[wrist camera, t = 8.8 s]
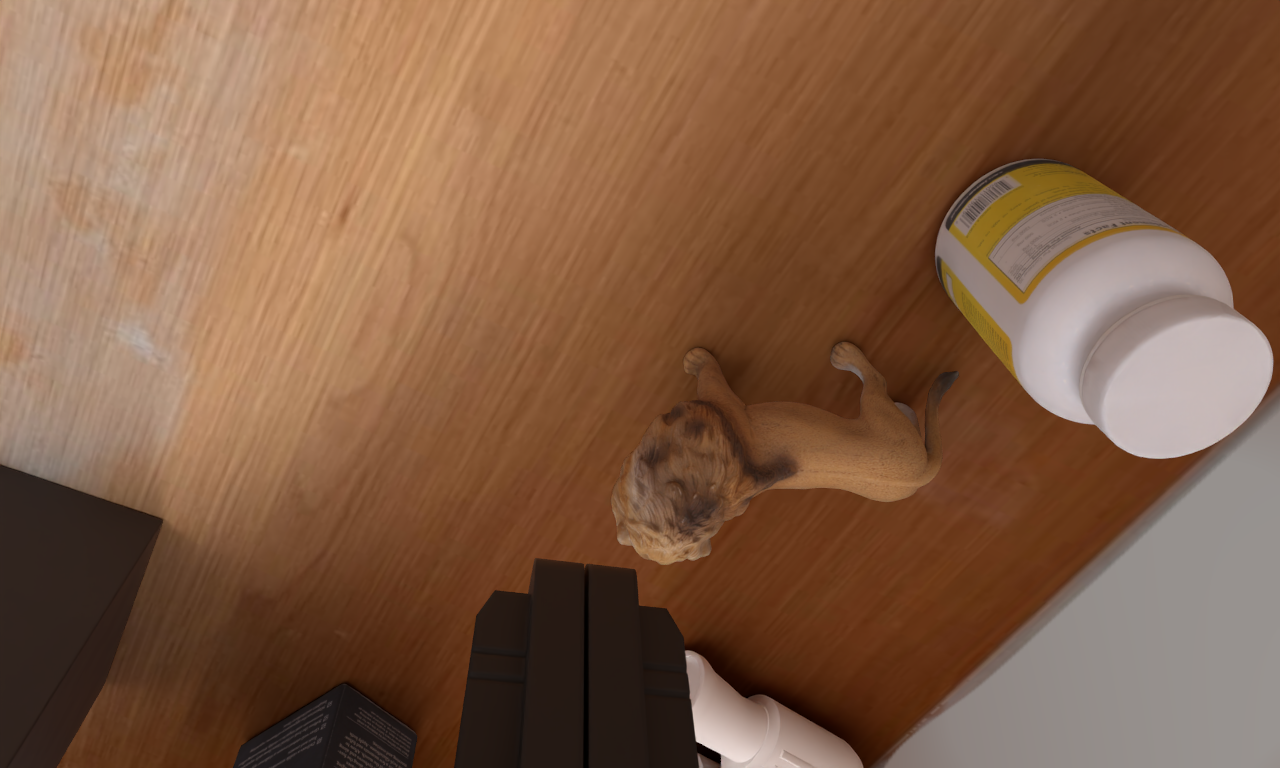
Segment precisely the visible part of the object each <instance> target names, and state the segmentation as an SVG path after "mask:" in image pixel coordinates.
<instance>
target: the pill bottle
mask: <svg viewBox="0 0 1280 768" xmlns="http://www.w3.org/2000/svg"><path fill="white" fill-rule="evenodd" d="M935 262H936V269H937V274H938V277H939V280H940V282H941V284H942V286H943V288H944V290H945V292H946V293H947V295H948V296H949V298H950V299H951V300H952V301H953V303H954V304H955V305H956V306H957V307H958V309H959V310H960V311H961V312H962V314H963V315H964V316H965V317H966V319H967V320H968V321H969V322H970V324H971V325H972V326H973V327H974V329H975V330H976V331H977V332H978V334H979V335H980V336H981V337H982V338H983V340H984V341H985V342H986V343H987V345H988V346H989V347H990V348H991V349H992V351H993V352H994V353H995V354H996V355H997V357H998V358H999V359H1000V360H1001V361H1002V363H1003V364H1004V365H1005V366H1006V367H1007V369H1008V370H1009V371H1010V372H1011V374H1012V375H1013V376H1014V377H1015V378H1016V380H1017V381H1018V382H1019V383H1020V385H1021V386H1022V387H1023V388H1024V389H1025V390H1026V391H1027V393H1028V394H1029V395H1030V396H1031V397H1032V398H1033V399H1034V400H1035V401H1036V402H1037V403H1039V404H1040V405H1041V406H1042V407H1044V408H1045V409H1047V410H1048V411H1050V412H1052V413H1053V414H1055V415H1057V416H1060V417H1062V418H1065V419H1068V420H1071V421H1075V422H1079V423H1085V424H1095V425H1096V426H1097V427H1098V428H1099V429H1100V430H1101V431H1102V432H1103V433H1104V434H1105V435H1106V436H1107V437H1108V438H1109V439H1110V440H1111V441H1112V442H1114V443H1115V444H1116V445H1117V446H1118V447H1120V448H1121V449H1123V450H1125V451H1127V452H1129V453H1131V454H1134V455H1136V456H1140V457H1146V458H1156V459H1164V458H1174V457H1180V456H1183V455H1187V454H1190V453H1193V452H1197V451H1199V450H1202V449H1204V448H1206V447H1208V446H1210V445H1212V444H1214V443H1216V442H1218V441H1219V440H1221V439H1222V438H1224V437H1226V436H1227V435H1229V434H1230V433H1231V432H1233V431H1234V430H1235V429H1236V428H1237V427H1239V426H1240V425H1241V424H1242V423H1243V422H1244V421H1245V420H1246V419H1247V418H1248V417H1249V416H1250V415H1251V414H1252V413H1253V411H1254V410H1255V409H1256V407H1257V406H1258V404H1259V403H1260V402H1261V400H1262V398H1263V396H1264V395H1265V393H1266V391H1267V388H1268V386H1269V383H1270V380H1271V377H1272V371H1273V355H1272V349H1271V346H1270V344H1269V342H1268V340H1267V338H1266V336H1265V335H1264V334H1263V332H1262V331H1261V330H1260V329H1259V328H1258V327H1257V326H1256V325H1255V324H1253V323H1252V322H1251V321H1249V320H1248V319H1247V318H1245V317H1244V316H1243V315H1241V314H1240V313H1238V312H1237V311H1236V310H1234V309H1233V296H1232V291H1231V287H1230V284H1229V281H1228V279H1227V277H1226V275H1225V272H1224V271H1223V269H1222V267H1221V266H1220V265H1219V263H1218V262H1217V261H1216V260H1215V259H1214V257H1213V256H1212V255H1211V254H1210V253H1209V252H1207V251H1206V250H1205V249H1204V248H1202V247H1201V246H1200V245H1198V244H1197V243H1195V242H1194V241H1192V240H1191V239H1189V238H1188V237H1186V236H1185V235H1183V234H1182V233H1180V232H1179V231H1177V230H1175V229H1174V228H1172V227H1171V226H1169V225H1168V224H1166V223H1164V222H1163V221H1161V220H1160V219H1158V218H1156V217H1155V216H1153V215H1151V214H1150V213H1148V212H1146V211H1145V210H1143V209H1142V208H1140V207H1139V206H1137V205H1135V204H1134V203H1132V202H1131V201H1129V200H1128V199H1126V198H1124V197H1123V196H1121V195H1119V194H1118V193H1116V192H1115V191H1113V190H1111V189H1110V188H1108V187H1106V186H1105V185H1103V184H1102V183H1100V182H1099V181H1097V180H1095V179H1094V178H1092V177H1091V176H1089V175H1087V174H1086V173H1084V172H1082V171H1081V170H1079V169H1077V168H1075V167H1073V166H1071V165H1069V164H1066V163H1063V162H1060V161H1056V160H1049V159H1027V160H1021V161H1016V162H1013V163H1009V164H1006V165H1004V166H1001V167H999V168H997V169H995V170H993V171H991V172H989V173H987V174H986V175H984V176H982V177H981V178H979V179H978V180H977V181H975V182H974V183H973V184H972V185H971V186H969V187H968V188H967V189H966V190H965V191H964V192H963V193H962V194H961V195H960V196H959V198H958V199H957V200H956V201H955V202H954V204H953V205H952V207H951V208H950V210H949V211H948V213H947V215H946V217H945V219H944V221H943V223H942V225H941V227H940V230H939V233H938V237H937V242H936V249H935Z"/></svg>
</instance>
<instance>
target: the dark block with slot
mask: <svg viewBox="0 0 1280 768" xmlns="http://www.w3.org/2000/svg"><path fill="white" fill-rule="evenodd" d="M162 523H163V520H161V519H158V518H155V517H152V516H149V515H146V514H143V513H140V512H137V511H134V510H132V509H129V508H126V507H123V506H120V505H117V504H114V503H111V502H108V501H105V500H102V499H99V498H96V497H93V496H90V495H87V494H84V493H81V492H78V491H75V490H72V489H69V488H66V487H63V486H60V485H57V484H54V483H51V482H48V481H45V480H42V479H39V478H36V477H33V476H30V475H27V474H24V473H21V472H18V471H15V470H12V469H9V468H6V467H3V466H0V768H56V767H57V766H58V764H59V762H60V760H61V759H62V757H63V755H64V754H65V752H66V750H67V748H68V747H69V745H70V743H71V741H72V740H73V738H74V736H75V734H76V733H77V731H78V729H79V728H80V726H81V724H82V722H83V721H84V719H85V717H86V715H87V714H88V712H89V710H90V708H91V707H92V705H93V703H94V702H95V700H96V698H97V696H98V695H99V693H100V691H101V689H102V688H103V686H104V684H105V681H106V678H107V675H108V672H109V670H110V667H111V664H112V661H113V659H114V656H115V653H116V650H117V648H118V645H119V642H120V639H121V636H122V634H123V631H124V628H125V625H126V623H127V620H128V617H129V614H130V612H131V609H132V606H133V603H134V600H135V598H136V595H137V592H138V589H139V587H140V584H141V581H142V578H143V575H144V573H145V570H146V567H147V564H148V562H149V559H150V556H151V553H152V551H153V548H154V545H155V542H156V539H157V537H158V534H159V531H160V528H161V526H162Z"/></svg>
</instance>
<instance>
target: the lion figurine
mask: <svg viewBox="0 0 1280 768" xmlns="http://www.w3.org/2000/svg"><path fill="white" fill-rule="evenodd" d="M830 360H831V363H832V365H833V366H835V367H836V368H838V369H841V370H848V371H852V372H854V373H855V374H856V375H858V376H859V377H860V379H861V380H862V382H863V384H864V386H863V391H862V395H861V399H860V416H859V417H858V418H857V419H847V418H842V417H840V416H838V415H836V414H833V413H831V412H828V411H826V410H823V409H820V408H817V407H814V406H811V405H808V404H803V403H796V402H783V401H776V402H767V403H759V404H753V405H748V406H746V405H745V404H744V403H743V401H742V400H741V399H740V398H738V397H737V396H736V395H735V394H734V393H733V391H732V390H731V389H730V387H729V386H728V384H727V382H726V380H725V378H724V376H723V374H722V370H721V368H720V366H719V364H718V362H717V361H716V360H715V358H714V357H713V356H712V355H711V354H710V353H709V352H708V351H707V350H705V349H703V348H694V349H692V350H690V351H689V352H687V354H686V355H685V357H684V359H683V363H684V370H685V372H686V373H688V374H693V375H696V377H697V379H698V380H699V381H698V388H697V394H698V400H694V401H689V402H688V401H684V402H679V403H677V404H676V405H675V406H674V407H673V409H672V410H671V413H667V414H660V415H658V416H657V417H656V418H655V420H654V421H653V422H652V423H651V425H650V427H649V428H648V429H647V431H646V433H645V434H644V436H643V438H642V441H641V442H640V443H639V445H638V446H637V447H636V448H635V449H634V451H632V452H631V453H630V455H629V456H628V457H627V458H626V459H625V460H624V464H623V465H622V467H621V473H620V476H619V478H618V480H617V481H616V483H615V485H614V487H613V491H612V498H611V504H612V511H613V513H614V515H615V519H616V525H617V539H618V541H619V542H620V544H623V545H631V546H633V547H634V548H635V550H636V552H637V553H639V555H640V556H641V557H643V558H645V559H648V560H654V561H657V562H658V563H659V564H661V565H668V564H671V563H673V562H675V561H684V560H685V559H686V558H687V559H689V560H696V559H698V558H700V557H704V556H707V555H709V554H710V552H711V544H710V538H711V537H712V536H714V535H715V534H716V533H717V532H718V530H719V529H720V527H721V526H722V524H723V523H724V521H727V520H730V519H732V518H733V517H735V516H739V515H741V514H743V513H744V512H745V510H746V508H747V507H748V505H749V501H750V500H751V499H752V498H753V497H755V496H757V495H758V494H760V493H761V492H763V491H765V490H769V489H811V488H835V489H842V490H847V491H850V492H853V493H856V494H859V495H861V496H864V497H867V498H869V499H872V500H877V501H883V502H891V501H896V500H900V499H904V498H907V497H909V496H911V495H913V494H914V493H915V492H916V491H917V489H918V488H919V487H921V486H924V485H926V484H928V483H929V482H930V481H931V480H932V479H933V478H934V477H935V476H936V475H937V473H938V471H939V469H940V467H941V463H942V454H943V453H942V443H941V435H940V428H939V419H938V408H939V404H940V401H941V399H942V396H943V395H944V393H945V392H946V391H947V390H948V389H949V388H950V387H951V385H952V384H953V382H954V381H955V379H957V377H958V376H959V372H958V371H954V372H945V373H942V374H940V375H939V376H938V377H937V379H936V380H935V381H934V383H933V385H932V387H931V388H930V390H929V393H928V399H927V405H926V411H925V445H924V443H923V441H922V439H921V432H920V429H919V424H918V419H917V416H916V414H915V412H914V411H913V410H912V409H911V408H910V407H909V406H907V405H905V404H903V403H898V402H896V403H894V402H893V401H892V400H891V399H890V397H889V396H888V394H887V391H886V390H887V383H886V380H885V378H884V377H883V376H882V375H881V374H880V373H879V372H878V371H877V370H876V369H875V368H874V367H873V366H872V365H871V364H870V363H869V361H868V360H867V358H866V357H865V355H864V354H863V353H862V352H861V350H860V349H859V348H858V347H856V346H855V345H853V344H852V343H849V342H841V343H838V344H837V345H835V346H834V347H833V349H832V352H831V356H830Z"/></svg>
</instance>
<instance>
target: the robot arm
mask: <svg viewBox="0 0 1280 768" xmlns="http://www.w3.org/2000/svg"><path fill="white" fill-rule="evenodd" d="M454 768H699V762H698V754H697V746H696V738H695V729H694V721H693V713H692V704H691V699H690V688H689V679H688V674H687V663H686V654H685V646H684V638H683V635H682V634H681V632H680V630H679V629H678V627H677V625H676V624H675V622H674V620H673V619H672V617H671V615H670V614H669V612H668V610H667V609H665V608H656V607H647V606H639V602H638V587H637V575H636V571H635V569H628V568H619V567H610V566H602V565H593V564H587V565H586V567H585V570H584V564H582V563H573V562H564V561H556V560H547V559H538V558H535V560H534V565H533V570H532V575H531V581H530V586H529V592H528V594H524V593H515V592H505V591H496V590H495V591H494V592H493V594H492V595H491V597H490V598H489V599H488V601H487V602H486V603H485V605H484V606H483V608H482V609H481V610H480V612H479V613H478V614H477V616H476V622H475V629H474V636H473V643H472V650H471V657H470V663H469V670H468V677H467V684H466V691H465V697H464V704H463V711H462V718H461V725H460V732H459V738H458V745H457V752H456V759H455V766H454Z"/></svg>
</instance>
